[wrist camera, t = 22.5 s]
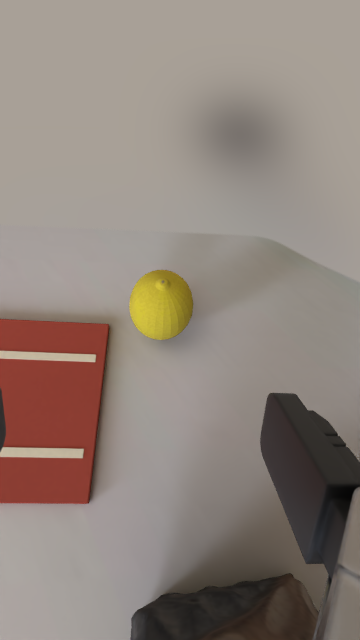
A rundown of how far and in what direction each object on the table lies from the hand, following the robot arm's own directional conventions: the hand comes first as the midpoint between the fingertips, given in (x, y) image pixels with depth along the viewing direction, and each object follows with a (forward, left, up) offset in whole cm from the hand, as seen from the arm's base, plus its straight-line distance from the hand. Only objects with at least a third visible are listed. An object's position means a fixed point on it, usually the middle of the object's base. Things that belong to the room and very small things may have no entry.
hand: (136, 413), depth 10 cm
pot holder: (+12, -4, -19) cm, 23 cm away
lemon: (-1, -12, -19) cm, 23 cm away
